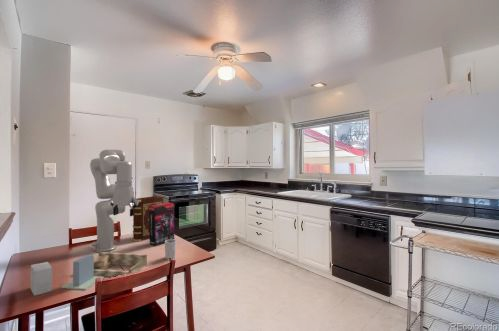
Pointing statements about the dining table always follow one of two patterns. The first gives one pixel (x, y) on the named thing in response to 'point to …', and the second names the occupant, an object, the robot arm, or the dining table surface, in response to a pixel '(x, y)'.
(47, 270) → the skincare box
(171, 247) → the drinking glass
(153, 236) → the graphics card box
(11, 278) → the dining table surface
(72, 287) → the mat
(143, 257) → the mottled brown tray
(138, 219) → the decorative book
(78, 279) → the blue gray rectangular block
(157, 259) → the dining table surface
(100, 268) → the offcut lower
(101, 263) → the offcut upper
